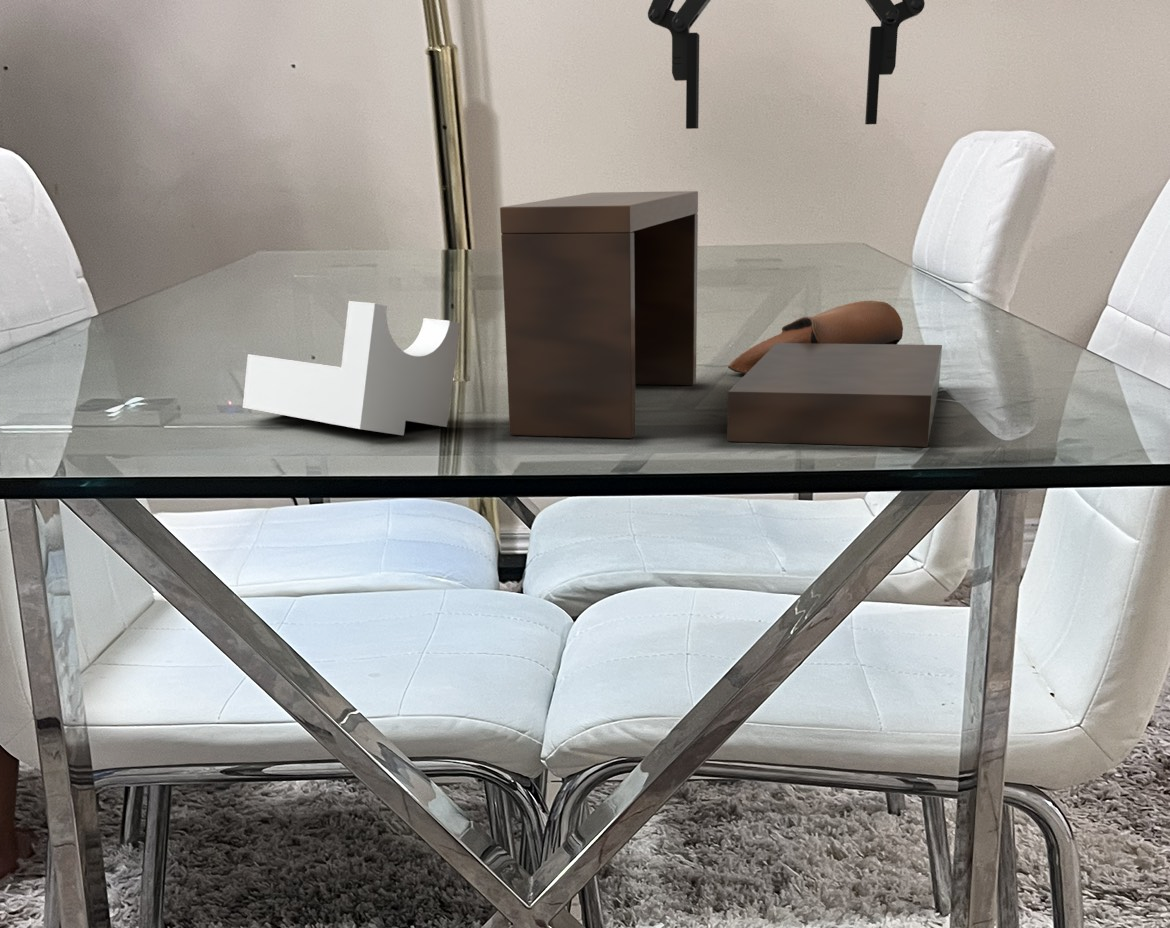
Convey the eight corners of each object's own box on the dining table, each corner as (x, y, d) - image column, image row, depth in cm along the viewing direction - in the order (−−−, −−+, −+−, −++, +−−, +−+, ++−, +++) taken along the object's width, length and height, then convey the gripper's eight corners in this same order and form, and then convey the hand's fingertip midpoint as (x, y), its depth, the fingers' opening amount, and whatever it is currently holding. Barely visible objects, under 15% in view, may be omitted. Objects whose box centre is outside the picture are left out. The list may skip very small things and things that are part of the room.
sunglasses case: (809, 339, 123) (850, 271, 119) (872, 386, 122) (915, 318, 118) (721, 369, 109) (763, 293, 105) (791, 421, 108) (837, 346, 104)
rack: (938, 387, 102) (954, 187, 97) (927, 447, 83) (946, 201, 77) (594, 381, 109) (590, 192, 103) (509, 435, 89) (499, 207, 84)
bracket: (444, 441, 93) (460, 323, 91) (359, 429, 87) (374, 303, 86) (326, 420, 101) (338, 311, 99) (242, 407, 96) (253, 292, 94)
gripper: (968, -205, 100) (942, 122, 109) (622, -185, 104) (625, 130, 113) (979, -229, 94) (951, 122, 102) (609, -207, 97) (613, 130, 106)
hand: (780, 127), depth 108 cm, fingers open, 13 cm apart
